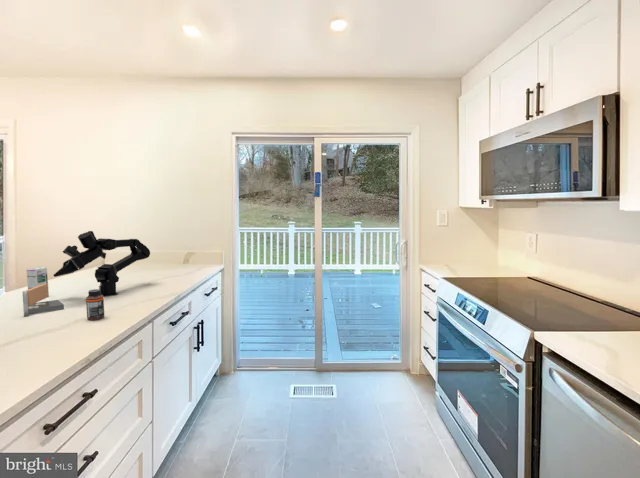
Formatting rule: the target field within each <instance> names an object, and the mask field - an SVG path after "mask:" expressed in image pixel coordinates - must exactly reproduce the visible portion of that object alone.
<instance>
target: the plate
mask: <svg viewBox="0 0 640 478" xmlns="http://www.w3.org/2000/svg"><path fill="white" fill-rule="evenodd" d="M22 303H23V304H22V305H23V317H29V316H30V315H35V314H42V313H47V312H48V313H49V312H56V311H61V310H62V311H63V310H65V305H64V303H63V302H61V300H59V299H54V300H47V301H38V302H36V303H34V304H32V305H28V291H26V290H23V291H22Z"/></svg>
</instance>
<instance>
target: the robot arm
mask: <svg viewBox="0 0 640 478" xmlns="http://www.w3.org/2000/svg"><path fill="white" fill-rule="evenodd" d="M77 238H78V240H79V242H80V243H81V246H82V247H83V248H84V249H86V250H84V251H81V252H80V251H79V250H78V246H77V245H72V246H71V245H67V246H66V247H65V248H64V250H63V251H62V253H63V254H65V255H67V256H69V257H70V259H68V260H66V261H65V260H64V262H63V263H62V267H61V268H60V269H58V270H57V271H56V272H54V274H53V277H55V278H56V277H61V276H65V275H66V276H67V275H69V274H73V273H75V272H78V271H80V270H82V269H83V268H85V266H87V265H88V264H91V263H92V262H93V261H95V260H97V259H99V258H101V259H106V257H107V252H104V251H112V250H116V249H117V248H125V247H129V251H130V254H128V255H126V256H124V257H123V258H121V259H119V260H118V261H116V262H114V263H111V264H110V263H103V264H102V265H100V266H97V269H95V271H94V278H95V279H96V281H97V282H96V283H99V285H98V289H99V290H100V292H101V293H100V294H101V295H103V297H106V296H111V295H112V296H113V295H118V292H117V283H118V282H119V280H120V277H119V276H118V272H120V271H121V270H123V269H125V268H127V267H129V266H130V265H132V264H133V263H135V262H137V261H141V260H145V259H148V258H149V257H150V255H151V251H150V249H149V248H148V247H147V245H145V244H143V242H141V240H139V239H138V238H128V239H115V238H97V237H96V236H95V233H94V231H92V230H88V231H85V232H83V233H81V234H79V235H78V236H77Z"/></svg>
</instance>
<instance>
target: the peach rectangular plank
mask: <svg viewBox="0 0 640 478" xmlns="http://www.w3.org/2000/svg"><path fill="white" fill-rule="evenodd" d="M25 291H28V305H32V304H34V303H38V302H42V300H46V298H49V297H50V296H49V295H50V294H49V293H50V292H49V282H48V283H47V284H42V285H39V286H37V287H34V288H31V289H29V290H28V289H26V290H25Z"/></svg>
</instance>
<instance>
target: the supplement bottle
mask: <svg viewBox="0 0 640 478" xmlns="http://www.w3.org/2000/svg"><path fill="white" fill-rule="evenodd" d="M100 293H101V292H100V290H99V288H98V289H95V288H94V289H90V290H88V296H86V298H85V303H86V306H85V307H86V318H87V320H89V321H97V320H101V319H103V318H104V317H105V306H104V305H105V302H104V296H103V295H101V294H100Z"/></svg>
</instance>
